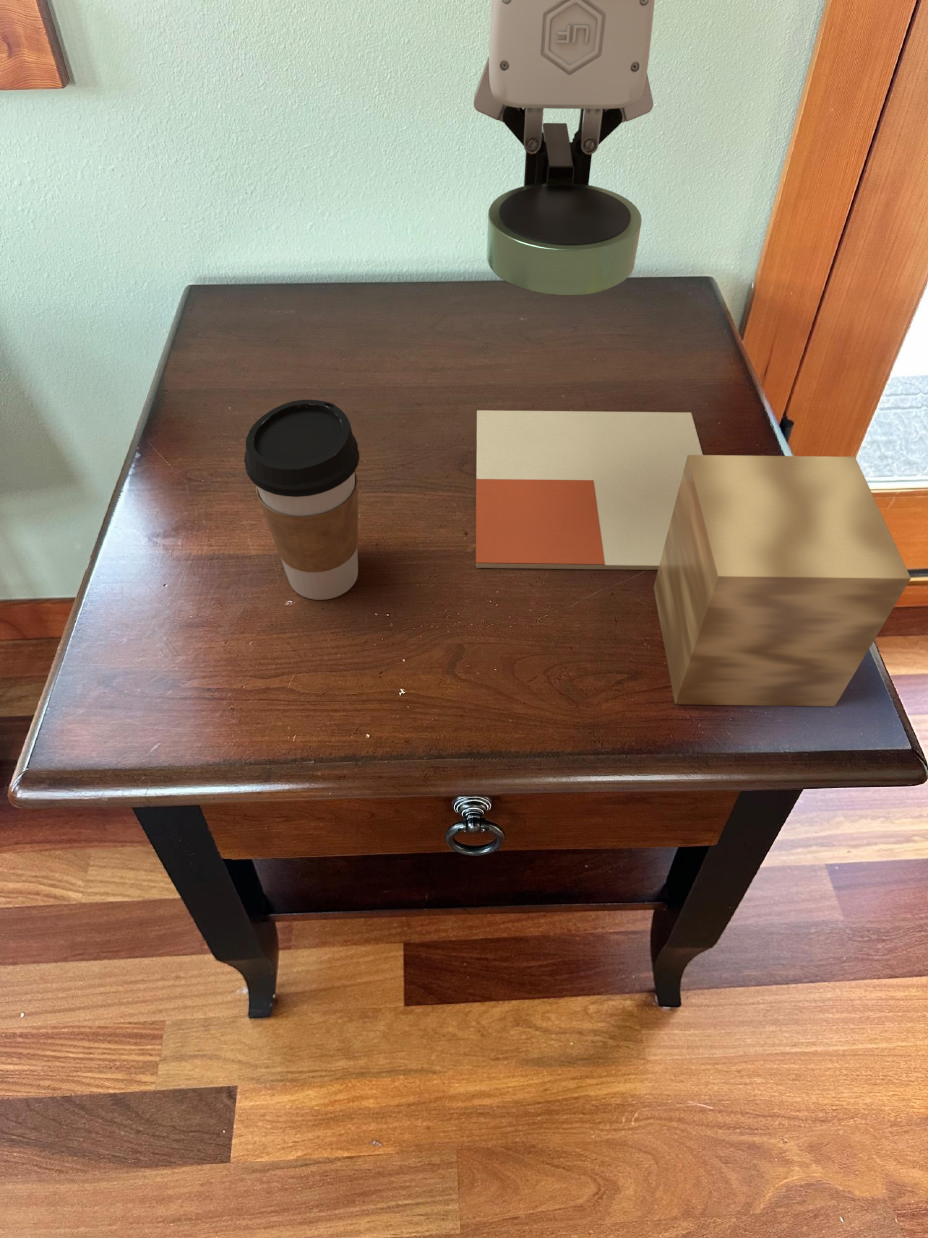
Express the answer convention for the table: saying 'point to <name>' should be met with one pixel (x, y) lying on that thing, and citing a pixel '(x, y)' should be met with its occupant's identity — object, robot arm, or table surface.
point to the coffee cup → (308, 493)
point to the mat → (578, 487)
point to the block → (773, 579)
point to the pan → (562, 230)
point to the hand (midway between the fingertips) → (554, 202)
